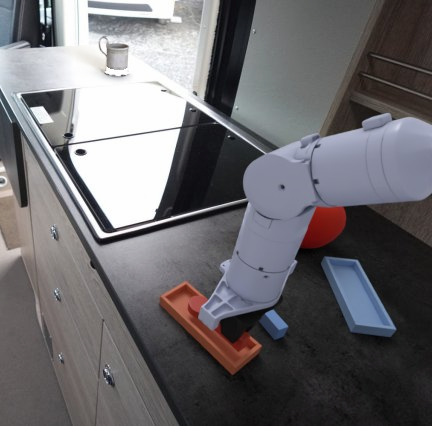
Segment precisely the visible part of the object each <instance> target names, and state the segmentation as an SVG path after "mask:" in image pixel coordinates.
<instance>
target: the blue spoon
mask: <svg viewBox="0 0 432 426" xmlns="http://www.w3.org/2000/svg"><path fill="white" fill-rule="evenodd" d="M258 322H259V324H260V325H261V326H262V327H263V328H264V329H265V331H266V333H268V334H269V336H270V337H271V338H272V339H273V340H274V341H275V340H278V339H281V338H283V337H285V335H286V333H287V330H288V328H289V325H288V324H287V323H286V322H285V321H284V320H283V319H282V318H281V316H280V315H279V314H278V313H277V312H276V311H275V309H273V310H271V311H269V312H267V313H265V314H264V315H263V316H262V319H260V320H259V321H258Z"/></svg>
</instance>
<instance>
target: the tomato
mask: <svg viewBox="0 0 432 426" xmlns="http://www.w3.org/2000/svg"><path fill="white" fill-rule="evenodd" d="M346 214H347V213H346V209H345V208H344V206H341V207H319V206H317V207H316V209H315V211H314V214H313V216H312V218H311V221H310V223H309V225H308V229H307V231H306V234H305V236H304V238H303V240H302V243H301V245H300V247H299V249H317V248H321V247H324V246H326V245H328V244H329V243H332V241H334V240H335V239H336V238H338V237H339V236H340V234H341V233H342V232H343V231H344V229H345V227H346V223H347V215H346Z"/></svg>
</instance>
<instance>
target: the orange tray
mask: <svg viewBox="0 0 432 426" xmlns="http://www.w3.org/2000/svg"><path fill="white" fill-rule="evenodd" d="M193 296H203V297H205V298H206V299H208V298H207V297H206V296H204V295H203V294H202V293H201V292H200V291H199V290H198V289H197V288H196V287H194V286H193V285H192V284H191V283H190V282H188V281H187V280H185V281H183V282H181V283H180V284H178V285H176V286H174V287H173V288H172V289H170V290H168V291H166V292H165V293H163V294H161V295H160V296H159V303H158V304H159V305H160V306H161V307H162V308H163V309H164V310H165V311H166V312H167V313H168V314H169V315H170V316H171V317H172V318H173V319H174V320H175V321H176V322H177V323H178V324H179V325H180V326H182V328H183V329H185V331H187V333H189V334H190V336H192V337H193V338H194V339H195V340H196V341H197V342H198V343H199V345H201V346H202V347H203V348H204V349H205V350H206V351H207V352H208V353H209V354H210V355H211V357H213V358H214V359H215V360H216V361H217V362H218V363H219V364H220V365H221V366H222V367H223V368H224V369H225V370H226V371H228V373H230V374H231V375H232V376H234V375H235V374H236V373H237V372H239V371H240V370H241V369H242V368H243V367H244V366H245V365H247V364H248V363H249V362H251V360H252V359H254V358H255V357H256V356H258V354H259V353H260V351H261V350H262V347H263V345H262V344H260V343H259V342H258V341H257V340H256V339H255V338H254V337H252V335H250V339H249V341H248V343H247V346H246V347H245V348H243V349H242V350H241V351H240V352H238V351H236V350H235V349H234V348H233V347H232V346H231V345H230V344H229V343H228V342H227V341H226V340H224V339H223V338H222V337H221V336H220V335H219V334H218V333H217V332H216V331H215V330H211V329H209V328H208V327H207V326H206V325H205V324H204V323H203V322H202V321H201V320H200V319H199V318H196V317H194V316H192V315H191V314H190V313H189V311H188V303H189V300H190V298H191V297H193Z"/></svg>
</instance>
